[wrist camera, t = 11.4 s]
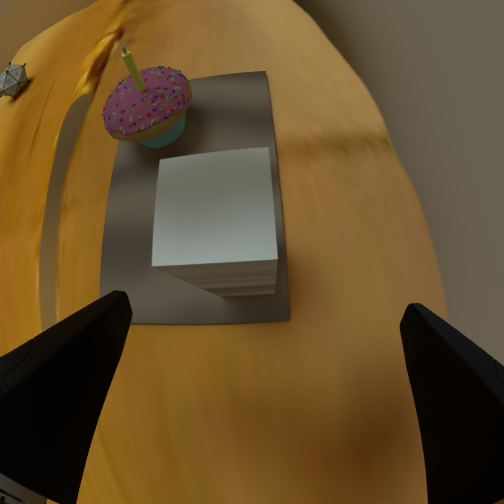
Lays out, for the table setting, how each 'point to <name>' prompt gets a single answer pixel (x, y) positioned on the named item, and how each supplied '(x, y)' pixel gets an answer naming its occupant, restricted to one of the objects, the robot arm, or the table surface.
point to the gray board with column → (201, 214)
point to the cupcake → (148, 105)
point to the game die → (12, 80)
